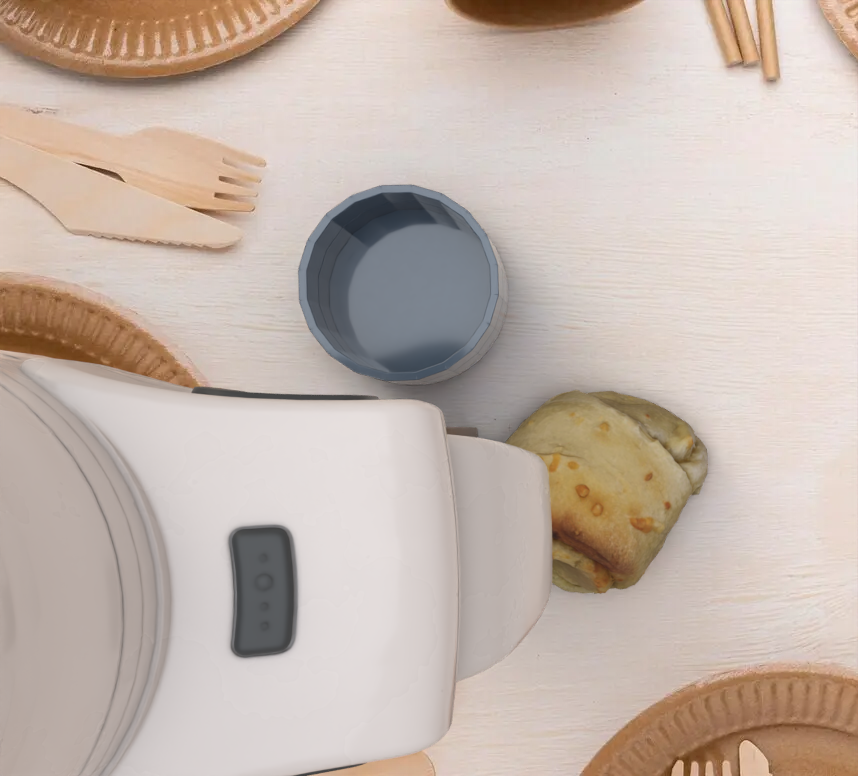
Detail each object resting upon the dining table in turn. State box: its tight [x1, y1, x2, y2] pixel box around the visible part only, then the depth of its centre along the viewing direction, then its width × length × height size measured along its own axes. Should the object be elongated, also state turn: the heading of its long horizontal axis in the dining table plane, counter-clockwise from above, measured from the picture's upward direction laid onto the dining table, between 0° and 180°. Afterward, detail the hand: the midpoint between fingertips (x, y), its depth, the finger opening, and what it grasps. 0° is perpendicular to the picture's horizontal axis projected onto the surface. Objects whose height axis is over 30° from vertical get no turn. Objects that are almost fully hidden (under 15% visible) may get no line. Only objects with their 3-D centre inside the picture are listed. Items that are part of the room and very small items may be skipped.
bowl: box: [297, 184, 509, 386], centre depth 64 cm, size 11×11×6 cm
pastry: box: [504, 389, 709, 595], centre depth 63 cm, size 14×12×8 cm
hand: (231, 525), depth 32 cm, fingers open, 8 cm apart
